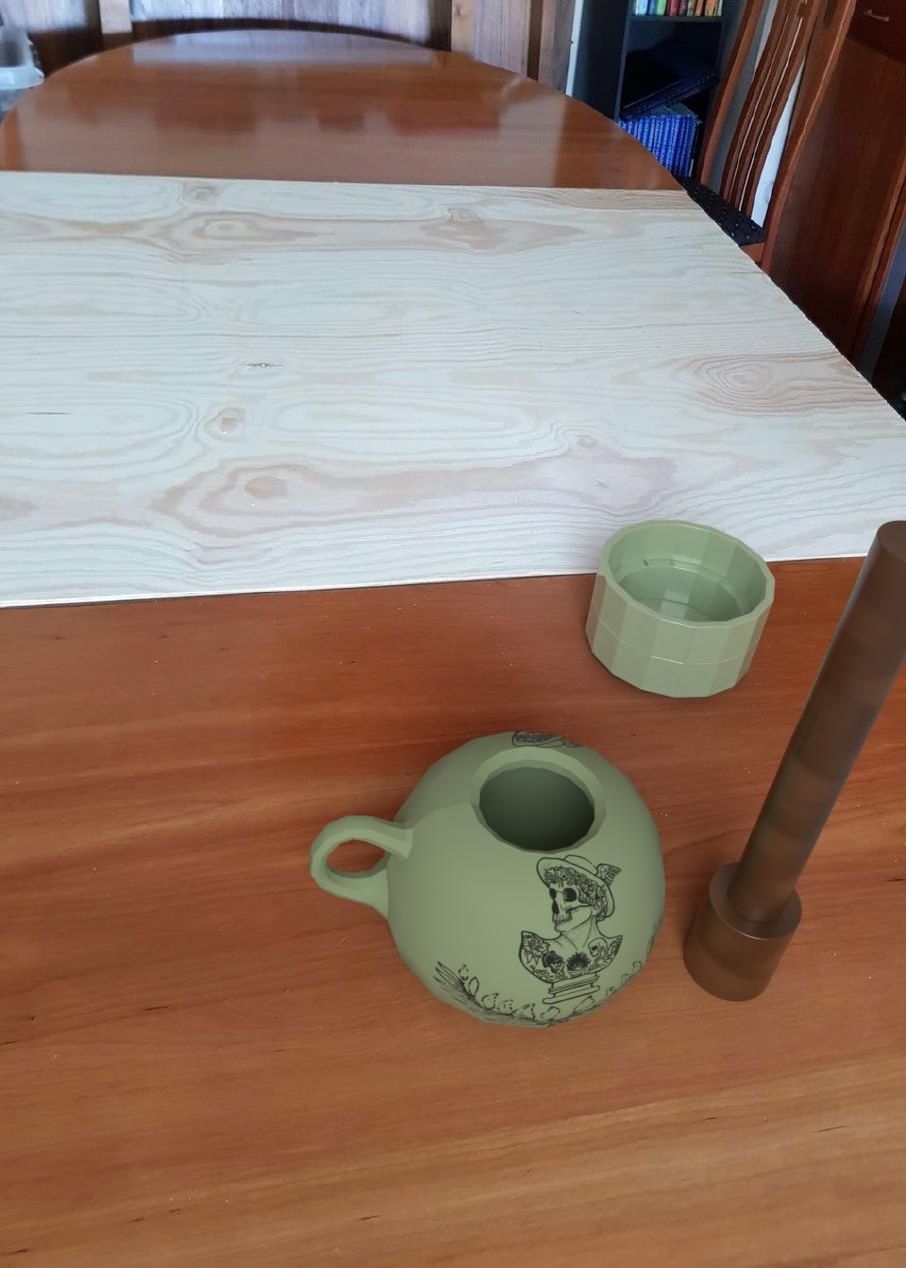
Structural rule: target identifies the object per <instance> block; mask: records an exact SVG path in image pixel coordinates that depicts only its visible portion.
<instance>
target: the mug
mask: <svg viewBox="0 0 906 1268" xmlns="http://www.w3.org/2000/svg"><path fill="white" fill-rule="evenodd" d="M352 840H355V841H361V842H367V843H368V844H371V845H374V846H376V847H378V848H381V849H383V856H382V858H381V859H380V860H379V861H377V863H375V864H374V865H373V866H372V867H371V868H369V869H364V870H360V871H356V872H351V871H341V870H339V869H337V868H334V867H333V866H330V865H329V863H328V859H329V856H330V854H331V853H332V852H333V851H334V850H335V849H337V847H338V846H339V845H340V844H343V843H346V842H350V841H352ZM662 845H663V844H662V840H661V837H660V833H659V829H658V825H657V824H656V822H655V820H654V818H653V816H652V814H651V812H650V810H649V808H648V807H647V806H646V804H645V802H644V800H643V799H642V797H641V795H640V793H639V792H638V790H637V788H636V786H635V785H634V782H633V781H632V780H631V777H629V776H627V774H625V773H624V772H623V771H622V770H621V769H619V768H618V767H617V766H615V765H614V764H613V763H612V762H611V761H610V760H608V759H607V758H606V757H605V756H603V755H602V754H601V753H600V752H598V751H597V750H594V749H592V748H590V747H587V746H585V745H582V744H580V743H577V742H575V741H572V740H570V739H567V738H565V737H563V736H559V735H557V734H551V733H550V734H549V733H540V732H532V731H531V732H530V731H522V730H521V731H520V730H512V731H507V732H501V733H496V734H492V735H485V736H481V737H477V738H472V739H471V740H469V741H467V742H466V743H464V744H463V745H461V746H458V747H457V748H456V749H454V750H452V751H451V752H448V754H445V755H444V756H442V757H441V758H439V759H438V760H437V761H435V762H434V763H433V764H432V765H431V766H430V767H428V769H427V770H426V772H425V773H424V775H423V776H422V777H421V778H420V780H419V781H418V782H417V784H416V785H415V786H414V788H413V790H412V791H411V792H410V794H409V795H408V797H407V798H406V799H405V801H404V803H403V804H402V806H401V807H400V808H399V810H398V811H397V813H396V814H395V815H394V817H393V821H391V820H387V819H384V818H379V817H376V816H372V815H345V816H343V817H340V818H339V819H336V820H333V821H331V822H329V823H327V824H326V825H325V826H324V828H323V829H322V830H321V831H319V833H318V834H317V835H316V837H315V838H313V841H312V843H311V846H310V849H309V856H308V864H307V869H308V871H309V874H310V875H311V877H312V878H313V880H314V881H315V883H316V884H317V885H318V887H319V889H322V890H324V891H326V892H327V893H329V894H331V895H333V896H336V897H338V898H342V899H345V900H348V901H352V902H356V903H357V904H362V905H365V906H369V907H371V908H372V909H373V910H375V911H376V912H377V914H379V915H380V916H381V917H382V918H384V919H385V920H386V922H387V925H388V928H389V930H390V934H391V937H392V939H393V942H394V945H395V948H396V951H397V954H398V956H399V959H400V960H401V961H402V963H404V965H405V966H406V967H407V968H408V969H409V970H410V971H411V973H413V975H414V976H415V977H416V978H417V979H418V980H419V982H420V983H421V984H422V985H423V986H424V987H425V989H427V990H428V992H429V993H430V994H431V995H432V996H433V997H434V998H435V999H437V1000H439V1001H442V1002H443V1003H445V1004H447V1005H449V1006H450V1007H453V1008H455V1009H457V1010H459V1011H462V1012H463V1013H466V1014H467V1015H470V1016H472V1017H473V1018H475V1019H478V1020H480V1021H482V1022H483V1023H486V1024H487V1023H488V1024H495V1025H505V1026H514V1027H525V1028H532V1029H533V1028H534V1029H541V1030H542V1029H545V1028H548V1027H552V1026H556V1025H559V1024H563V1023H567V1022H570V1021H573V1020H577V1019H579V1018H580V1019H581V1018H584V1017H588V1016H591V1015H594V1014H595V1013H596V1012H598V1011H599V1010H601V1008H602V1007H603V1006H604V1005H606V1004H607V1003H608V1002H610V1001H611V1000H612V999H613V998H614V997H615V996H617V994H619V993H620V992H621V991H622V990H624V989H625V988H626V987H627V986H628V985H630V983H632V981H633V980H634V979H635V978H636V976H637V975H638V974H639V973H640V972H641V971H642V969H643V967H644V966H645V965H646V964H647V962H648V959H649V957H650V954H651V952H652V950H653V947H654V944H655V942H656V939H657V937H658V934H659V932H660V930H661V927H662V924H663V922H664V920H665V908H666V907H665V906H666V891H667V890H666V889H667V888H666V877H665V867H664V857H663V856H664V855H663V848H662V847H663V846H662Z"/></svg>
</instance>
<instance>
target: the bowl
mask: <svg viewBox="0 0 906 1268" xmlns="http://www.w3.org/2000/svg"><path fill="white" fill-rule="evenodd" d="M602 547H603V548H602V552H601V555H600V557H599V561H598V566H597V571H596V575H595V580H594V586H593V590H592V594H591V598H590V599H591V600H590V604H589V609H588V614H587V618H586V623H585V628H584V632H585V635H586V638H587V641H588V644H589V648H590V651H591V653H592V654H593V655H594V656H595V657H596V658H597V659H598V660H599V661H600V663H601V664H602V665H603V666H604V667H605V668H606V669H607V670H608V671H609V672H610V673H611V674H612V675H613V676H615V677H617V678H619V679H621V680H622V681H625V682H626V683H628V684H629V685H631V686H633V687H635V688H637V689H639V690H641V691H646V692H649V693H654V694H657V695H661V696H666V697H669V698H675V699H678V698H679V699H680V698H681V699H682V698H707V697H712V696H714V695H716V694H718V693H722V692H724V691H727V690H729V689H732V688H734V687H735V686H736V684H737V683H739V682H740V680H741V679H742V678H743V677H744V675H746V673H748V671H749V670H750V667H751V665H752V662H753V659H754V657H755V653H756V650H757V648H758V646H759V642H760V639H761V637H762V634H763V632H764V628H765V625H766V623H767V621H768V617H769V614H770V611H771V609H772V606H773V603H774V601H775V600H774V599H775V588H776V587H775V586H776V579H775V577H774V576H773V573H772V571H771V570H770V568H769V566H768V564H767V563H766V561H765V559H764V558H763V557H762V556H761V555H760V554H758V553H757V552H756V551H755V550H753V549H752V548H751V547H750V546H749V545H748V544H746V543H745V542H744V541H743V540H741V539H739V538H737V537H734V536H733V535H730V534H728V533H726V532H725V531H722V530H720V529H718V528H715V527H713V526H709V525H704V524H700V523H695V522H691V521H688V520H687V521H686V520H682V519H649V520H645V521H640V522H638V523H634V524H631V525H630V524H629V525H627V526H624V527H621V529H619V530H618V531H617V532H616V533H614V534H613V535H612V536H610V537H609V538H608V539H607V540H605V542H604V544H603V546H602Z"/></svg>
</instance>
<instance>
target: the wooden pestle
mask: <svg viewBox="0 0 906 1268" xmlns="http://www.w3.org/2000/svg"><path fill="white" fill-rule="evenodd" d="M836 626H837V627H836V628H835V630H834V633H833V635H832V638H831V641H830V643H829V646H828V648H827V650H826V653H825V655H824V658H823V660H822V662H821V664H820V667H819V669H818V672H817V674H816V677H815V679H814V682H813V683H812V686H811V689H810V691H809V692H808V693H809V694H808V695H807V699H806V700H805V703H804V705H803V707H802V709H801V712H800V715H799V717H798V720H797V722H796V724H795V727H794V729H793V731H792V734H791V736H790V739H789V741H788V744H787V745H786V748H785V750H784V753H783V756H782V758H781V760H780V763H779V765H778V768H777V769H776V772H775V774H774V777H773V779H772V782H771V785H770V787H769V789H768V792H767V794H766V796H765V799H764V801H763V803H762V805H761V809H760V811H759V813H758V815H757V818H756V820H755V823H754V825H753V827H752V830H751V832H750V835H749V837H748V840H747V842H746V844H745V847H744V849H743V851H742V853H741V856H740V858H739V860H738V861H733V862H729V863H726V864H724V865H723V866H721V867H719V868H718V869H717V870H716V871H715V872H714V873H713V874H712V876H711V878H710V881H709V883H708V885H707V888H706V891H705V892H704V896H703V898H702V901H701V902H700V906H699V908H698V911H697V914H696V916H695V918H694V921H693V923H692V926H691V928H690V931H689V933H688V936H687V939H686V941H685V943H684V946H683V947H684V948H683V959H684V963H685V964H684V965H685V968H686V970H687V971H688V973H689V976H691V978H692V979H693V981H694V982H695V984H697V985H698V986H699V987H700V988H701V989H703V990H704V991H705V992H706V993H709V994H710V995H711V996H713V997H716V998H718V999H721V1000H723V1001H728V1002H735V1003H736V1002H746V1001H750V1000H753V999H755V998H757V997H758V996H760V995H762V993H764V992H765V990H766V989H767V988H768V986H769V984H770V982H771V980H772V978H773V976H774V974H775V972H776V970H777V968H778V967H779V964H780V963H781V960H782V959H783V956H784V954H785V952H786V950H787V949H788V947H789V945H790V943H791V941H792V939H793V937H794V935H795V933H796V931H797V929H798V927H799V925H800V923H801V921H802V917H803V905H802V900H801V898H800V896H799V894H798V891H797V890H796V889H795V888H796V885H797V884H798V881H799V879H800V877H801V875H802V873H803V871H804V869H805V868H806V867H805V866H806V865H807V864H808V860H809V858H810V856H811V855H812V852H813V851H814V848H815V847H816V844H817V843H818V840H819V838H820V836H821V834H822V832H823V829H824V828H825V826H826V823H827V822H828V820H829V817H830V815H831V813H832V812H833V809H834V807H835V806H836V803H837V801H838V799H839V797H840V795H841V792H842V791H843V789H844V787H845V784H846V783H847V781H848V778H849V776H850V774H851V772H852V770H853V768H854V766H855V764H856V762H857V760H858V758H859V756H860V755H861V752H862V750H863V747H864V746H865V743H866V741H867V740H868V737H869V735H870V733H871V731H872V729H873V727H874V725H875V723H876V721H877V719H878V717H879V715H880V713H881V710H882V708H883V706H884V705H885V702H886V700H887V698H888V696H889V695H890V693H891V690H892V689H893V686H894V685H895V682H896V680H897V678H898V676H899V674H900V672H901V669H902V667H903V666H904V664H905V661H906V519H905V520H904V519H903V520H901V519H900V520H899V519H897V520H890V521H888V522H884V523H883V524H882V525H880V526H879V527H878V528H877V530H876V533H875V536H874V538H873V540H872V542H871V545H870V547H869V550H868V552H867V554H866V557H865V559H864V561H863V564H862V566H861V569H860V572H859V574H858V576H857V577H856V581H855V583H854V585H853V588H852V590H851V593H850V595H849V597H848V600H847V602H846V605H845V607H844V609H843V612H842V614H841V617H840V619H839V621H838V624H837V625H836Z"/></svg>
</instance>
